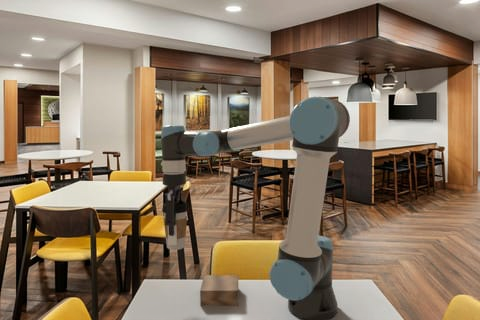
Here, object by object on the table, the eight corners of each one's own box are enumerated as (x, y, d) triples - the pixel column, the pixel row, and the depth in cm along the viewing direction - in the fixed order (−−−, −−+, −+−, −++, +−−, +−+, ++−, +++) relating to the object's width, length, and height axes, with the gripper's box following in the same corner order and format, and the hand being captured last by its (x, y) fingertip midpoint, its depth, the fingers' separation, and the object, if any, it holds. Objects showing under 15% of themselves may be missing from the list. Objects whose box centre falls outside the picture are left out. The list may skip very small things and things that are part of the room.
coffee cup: (183, 251, 120) (182, 205, 119) (159, 250, 122) (157, 204, 121) (192, 243, 129) (191, 200, 127) (168, 242, 130) (167, 199, 129)
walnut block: (238, 288, 132) (238, 275, 131) (238, 305, 120) (237, 290, 119) (204, 289, 132) (203, 275, 131) (200, 305, 120) (200, 290, 119)
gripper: (171, 168, 133) (173, 231, 136) (152, 177, 113) (155, 250, 115) (192, 168, 133) (193, 232, 135) (177, 177, 112) (179, 251, 115)
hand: (175, 240), depth 125 cm, fingers closed on coffee cup, 8 cm apart
